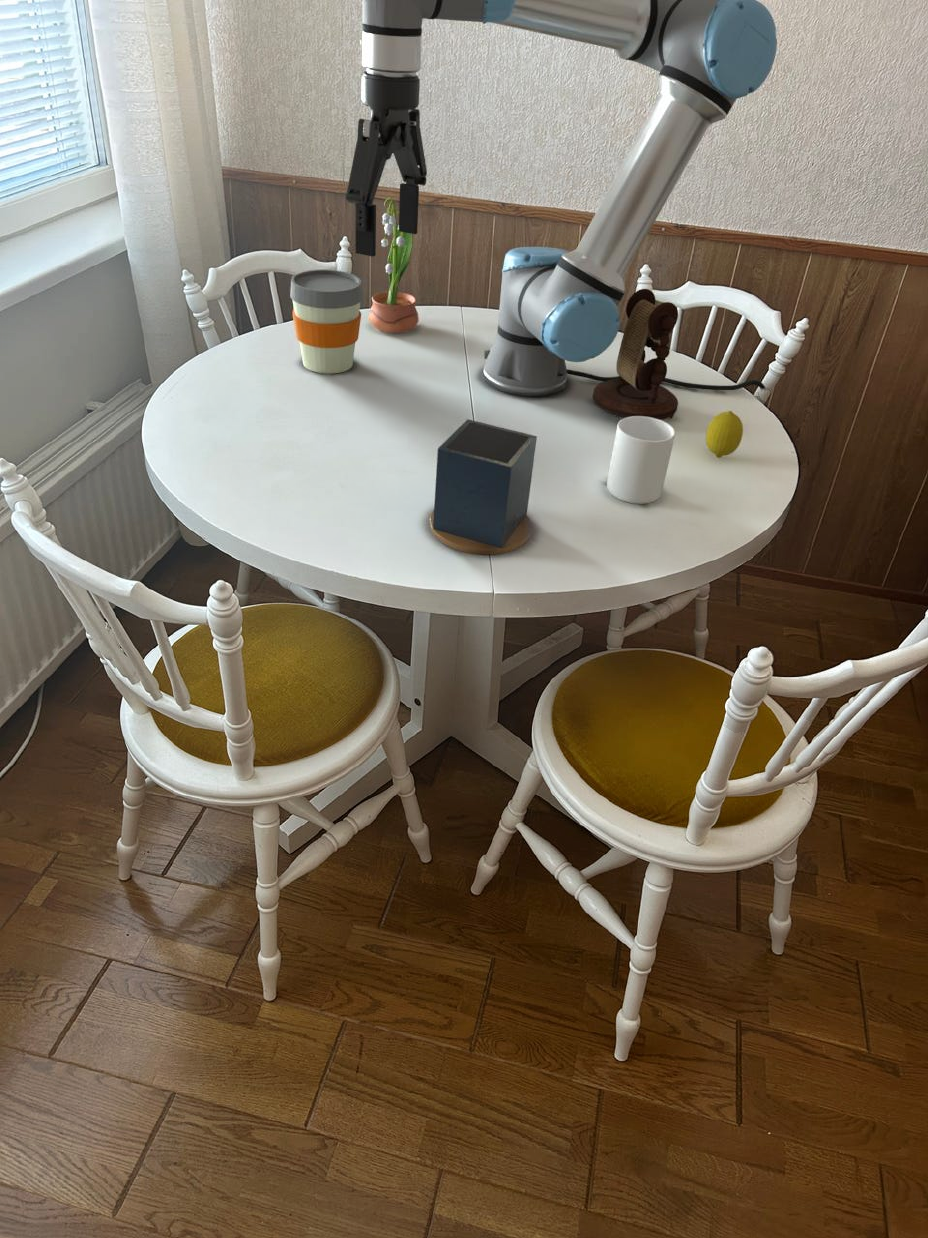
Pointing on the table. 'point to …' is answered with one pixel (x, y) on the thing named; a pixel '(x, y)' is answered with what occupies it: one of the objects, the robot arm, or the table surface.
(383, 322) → the potted flower
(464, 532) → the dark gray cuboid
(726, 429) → the lemon
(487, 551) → the cork trivet
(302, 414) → the table surface
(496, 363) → the robot arm
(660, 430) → the mug
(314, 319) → the reusable coffee cup
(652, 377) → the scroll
